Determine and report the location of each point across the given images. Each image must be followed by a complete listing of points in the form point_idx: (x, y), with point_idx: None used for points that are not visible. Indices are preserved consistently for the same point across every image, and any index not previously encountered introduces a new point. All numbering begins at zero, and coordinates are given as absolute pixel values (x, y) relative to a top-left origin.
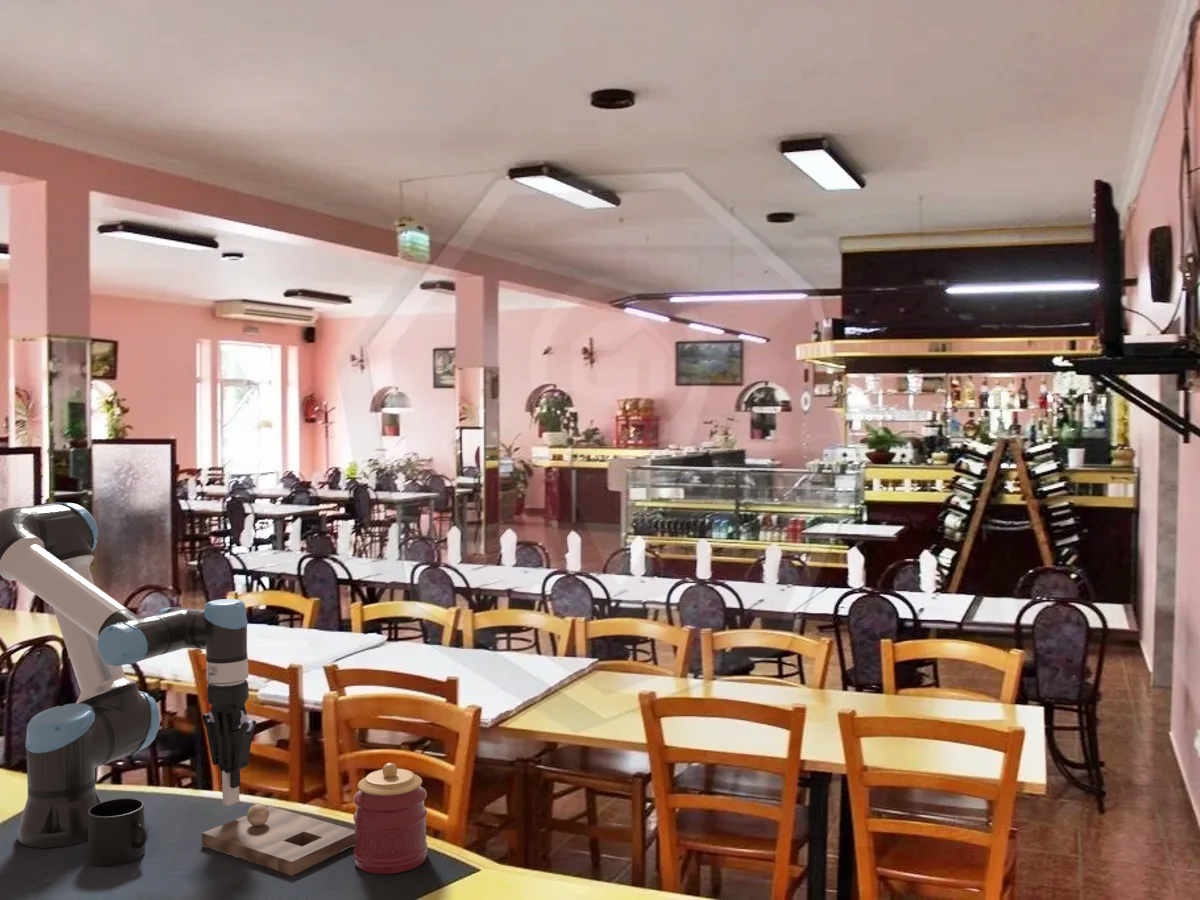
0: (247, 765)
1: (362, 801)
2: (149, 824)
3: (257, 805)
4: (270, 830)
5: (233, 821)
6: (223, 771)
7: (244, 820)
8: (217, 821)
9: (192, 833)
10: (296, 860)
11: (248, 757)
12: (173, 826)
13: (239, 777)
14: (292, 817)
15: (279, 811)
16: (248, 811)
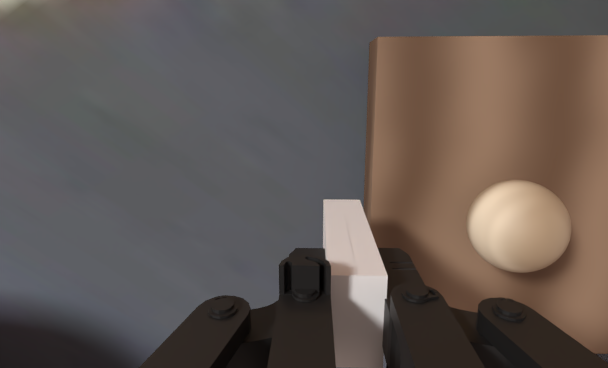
0: (526, 310)
1: None
2: (66, 300)
3: (546, 251)
4: (573, 220)
5: (377, 232)
6: (342, 365)
7: (408, 206)
8: (224, 169)
9: (246, 277)
10: None
11: (595, 363)
12: (142, 272)
13: (417, 276)
14: (565, 78)
15: (464, 60)
16: (502, 268)
